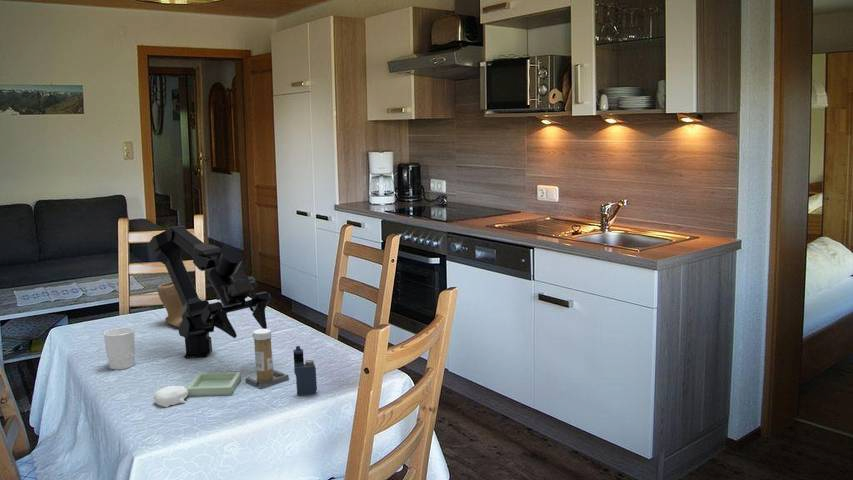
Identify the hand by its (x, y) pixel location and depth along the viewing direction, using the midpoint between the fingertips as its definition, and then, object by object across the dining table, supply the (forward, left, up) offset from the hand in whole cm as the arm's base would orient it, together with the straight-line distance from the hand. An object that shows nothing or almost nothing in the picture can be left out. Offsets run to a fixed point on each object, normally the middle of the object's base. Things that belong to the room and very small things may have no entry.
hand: (250, 333), depth 194 cm
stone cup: (-35, +53, -12) cm, 65 cm away
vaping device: (+16, -14, -12) cm, 24 cm away
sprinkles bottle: (+4, -4, -12) cm, 13 cm away
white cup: (-39, +12, -12) cm, 43 cm away
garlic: (-17, -16, -12) cm, 26 cm away
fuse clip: (+4, -4, -12) cm, 13 cm away
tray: (-8, -8, -12) cm, 16 cm away
